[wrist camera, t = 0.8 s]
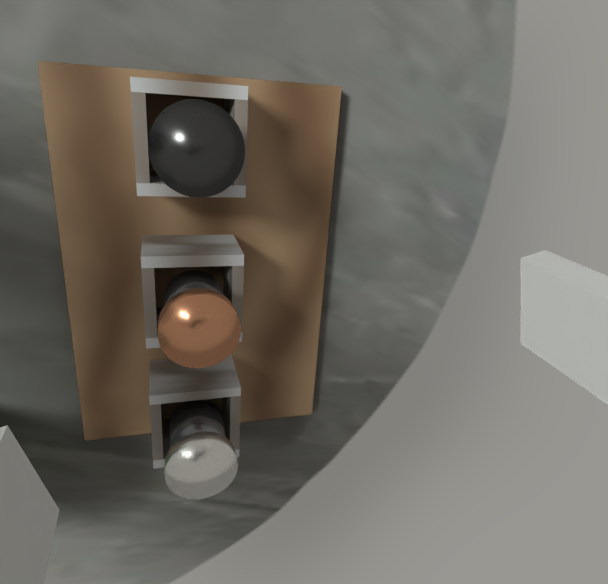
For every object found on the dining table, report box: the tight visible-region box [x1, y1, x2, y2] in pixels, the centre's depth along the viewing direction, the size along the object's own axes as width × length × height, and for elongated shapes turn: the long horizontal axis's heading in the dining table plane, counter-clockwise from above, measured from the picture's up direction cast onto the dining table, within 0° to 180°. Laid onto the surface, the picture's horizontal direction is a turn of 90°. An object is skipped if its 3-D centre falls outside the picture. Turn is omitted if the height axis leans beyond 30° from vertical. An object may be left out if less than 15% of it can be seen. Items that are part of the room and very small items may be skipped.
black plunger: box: [149, 99, 245, 198], centre depth 25 cm, size 4×4×5 cm
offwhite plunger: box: [164, 400, 238, 499], centre depth 32 cm, size 4×4×5 cm
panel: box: [38, 61, 342, 469], centre depth 32 cm, size 18×26×6 cm
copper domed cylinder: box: [158, 270, 241, 368], centre depth 28 cm, size 4×4×5 cm
